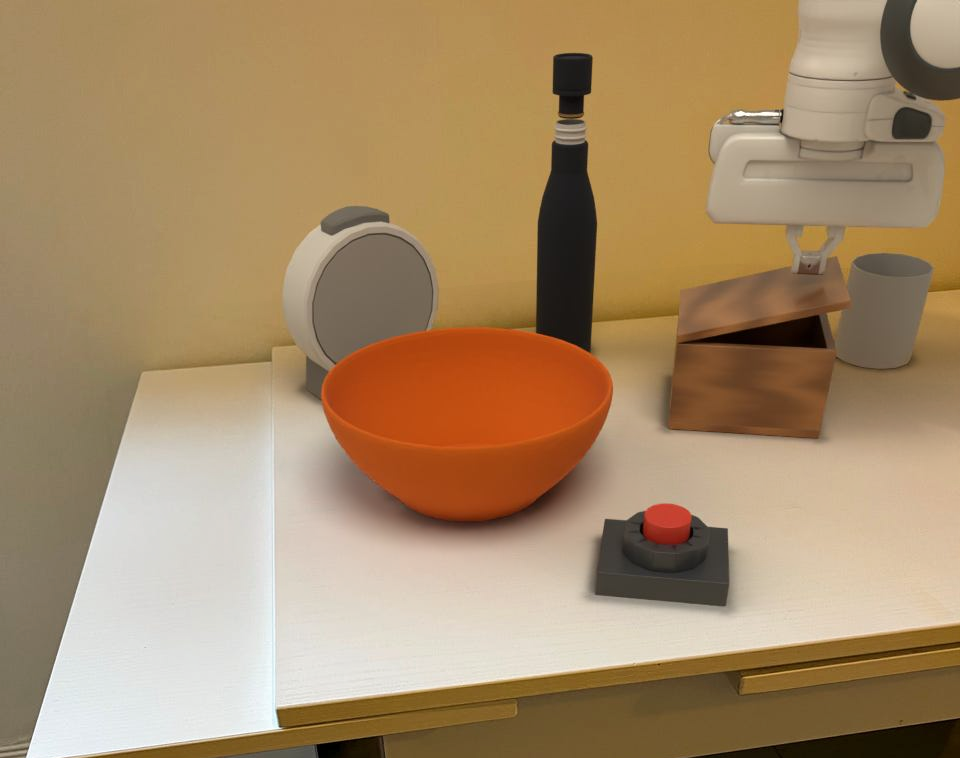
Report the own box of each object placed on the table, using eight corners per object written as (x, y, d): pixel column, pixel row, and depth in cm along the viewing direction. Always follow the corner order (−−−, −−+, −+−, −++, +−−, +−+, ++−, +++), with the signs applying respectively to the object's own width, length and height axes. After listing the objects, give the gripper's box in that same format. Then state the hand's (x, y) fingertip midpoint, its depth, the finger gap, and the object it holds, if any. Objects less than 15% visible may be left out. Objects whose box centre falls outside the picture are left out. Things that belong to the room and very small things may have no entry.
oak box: (808, 385, 107) (824, 304, 102) (818, 438, 97) (836, 352, 92) (671, 377, 109) (680, 298, 104) (668, 428, 100) (677, 344, 94)
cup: (899, 374, 109) (923, 282, 103) (824, 360, 112) (843, 270, 106) (917, 348, 114) (940, 259, 108) (845, 335, 118) (864, 248, 112)
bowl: (305, 449, 98) (291, 351, 91) (539, 405, 104) (541, 311, 98) (377, 584, 79) (366, 473, 73) (656, 521, 86) (667, 414, 80)
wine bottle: (524, 352, 116) (526, 56, 97) (560, 336, 119) (569, 48, 101) (565, 367, 112) (576, 63, 93) (601, 350, 116) (619, 54, 97)
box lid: (837, 263, 99) (837, 255, 99) (851, 308, 89) (851, 299, 89) (681, 297, 104) (680, 290, 103) (678, 343, 94) (677, 335, 94)
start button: (689, 524, 79) (692, 504, 78) (688, 548, 76) (691, 529, 75) (643, 520, 79) (645, 501, 78) (641, 544, 76) (643, 525, 75)
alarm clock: (407, 352, 116) (396, 185, 105) (456, 380, 110) (450, 206, 98) (282, 387, 109) (257, 213, 98) (327, 420, 102) (305, 237, 91)
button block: (724, 550, 82) (731, 508, 80) (725, 607, 76) (732, 563, 73) (603, 540, 84) (606, 499, 81) (594, 595, 77) (597, 552, 75)
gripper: (712, 116, 85) (695, 280, 93) (966, 118, 82) (924, 287, 90) (712, 102, 90) (695, 259, 98) (952, 103, 86) (913, 265, 95)
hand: (806, 273), depth 94 cm, fingers closed
